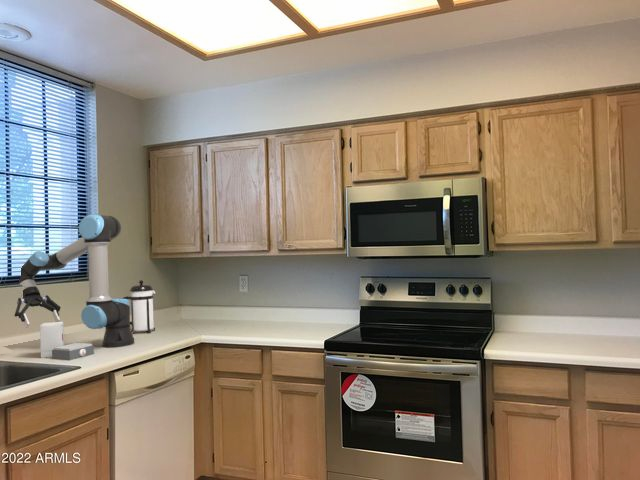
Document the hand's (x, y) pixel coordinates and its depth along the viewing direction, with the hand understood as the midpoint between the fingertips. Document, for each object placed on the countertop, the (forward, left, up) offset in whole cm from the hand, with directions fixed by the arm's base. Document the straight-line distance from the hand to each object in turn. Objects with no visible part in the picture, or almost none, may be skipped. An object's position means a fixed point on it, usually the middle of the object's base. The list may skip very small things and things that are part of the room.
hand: (43, 323), depth 242 cm
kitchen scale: (+1, +20, -14) cm, 24 cm away
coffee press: (-59, +2, -14) cm, 61 cm away
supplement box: (+2, +8, -14) cm, 16 cm away
